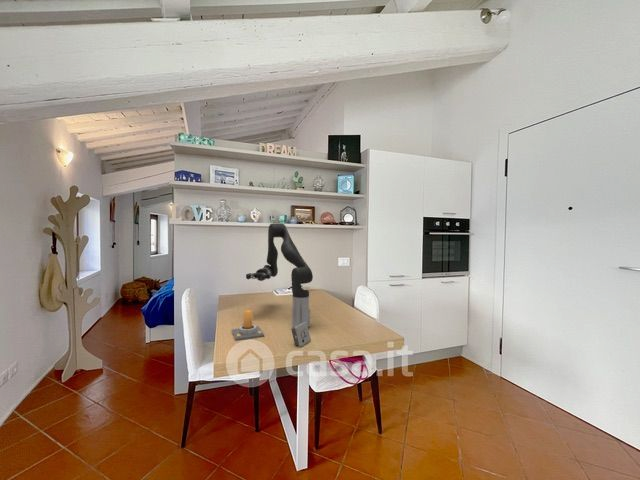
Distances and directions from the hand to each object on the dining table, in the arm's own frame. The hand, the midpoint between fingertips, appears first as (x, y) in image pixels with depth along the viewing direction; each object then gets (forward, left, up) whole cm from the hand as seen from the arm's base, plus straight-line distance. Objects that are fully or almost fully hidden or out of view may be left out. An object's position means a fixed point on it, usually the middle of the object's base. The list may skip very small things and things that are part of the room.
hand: (254, 277), depth 160 cm
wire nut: (+7, +18, -25) cm, 32 cm away
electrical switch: (-14, +40, -26) cm, 50 cm away
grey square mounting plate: (+7, +18, -26) cm, 33 cm away
